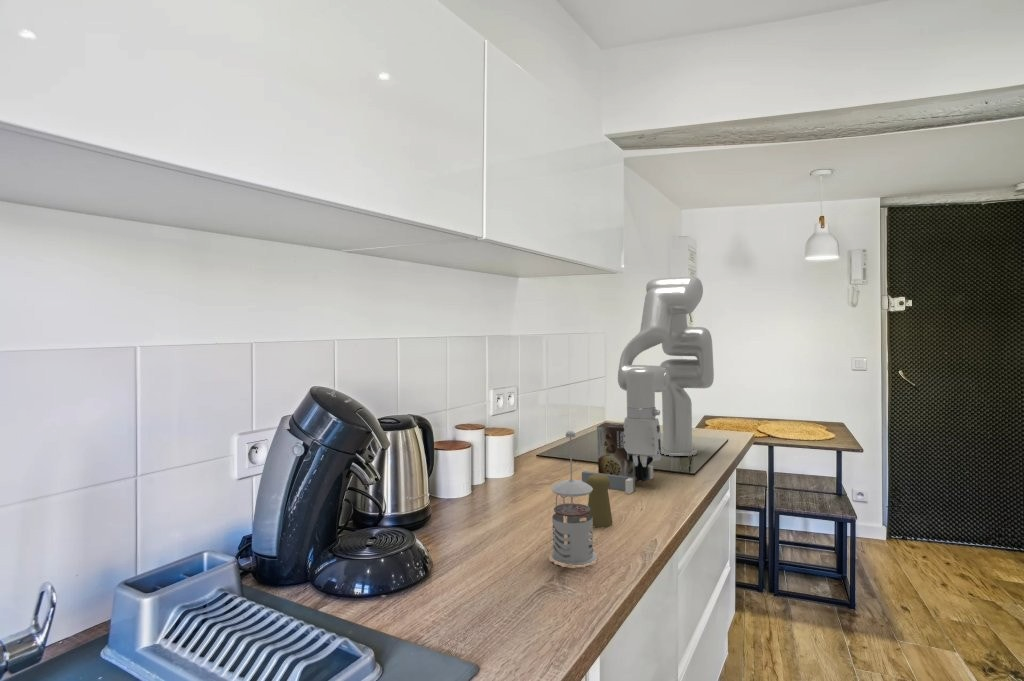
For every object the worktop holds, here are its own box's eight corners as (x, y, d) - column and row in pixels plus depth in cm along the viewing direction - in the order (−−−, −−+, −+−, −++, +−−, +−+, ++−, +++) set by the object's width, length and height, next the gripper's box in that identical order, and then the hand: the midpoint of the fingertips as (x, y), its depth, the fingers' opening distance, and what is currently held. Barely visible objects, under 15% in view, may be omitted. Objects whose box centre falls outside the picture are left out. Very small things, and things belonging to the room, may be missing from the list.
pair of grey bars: (604, 471, 181) (604, 459, 181) (653, 477, 173) (653, 465, 173) (578, 486, 166) (577, 474, 166) (629, 494, 158) (629, 480, 158)
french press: (558, 571, 111) (555, 437, 110) (538, 548, 123) (535, 426, 122) (607, 564, 114) (604, 433, 113) (582, 542, 125) (580, 423, 124)
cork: (616, 520, 138) (615, 473, 137) (606, 529, 133) (605, 479, 132) (592, 517, 141) (591, 470, 140) (581, 525, 136) (580, 476, 135)
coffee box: (636, 480, 171) (635, 423, 170) (628, 486, 165) (627, 427, 165) (606, 476, 176) (605, 421, 175) (597, 482, 170) (596, 425, 169)
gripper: (672, 413, 164) (672, 480, 165) (620, 409, 172) (621, 473, 172) (663, 417, 158) (664, 486, 158) (610, 413, 166) (611, 480, 166)
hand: (641, 479), depth 165 cm, fingers closed
